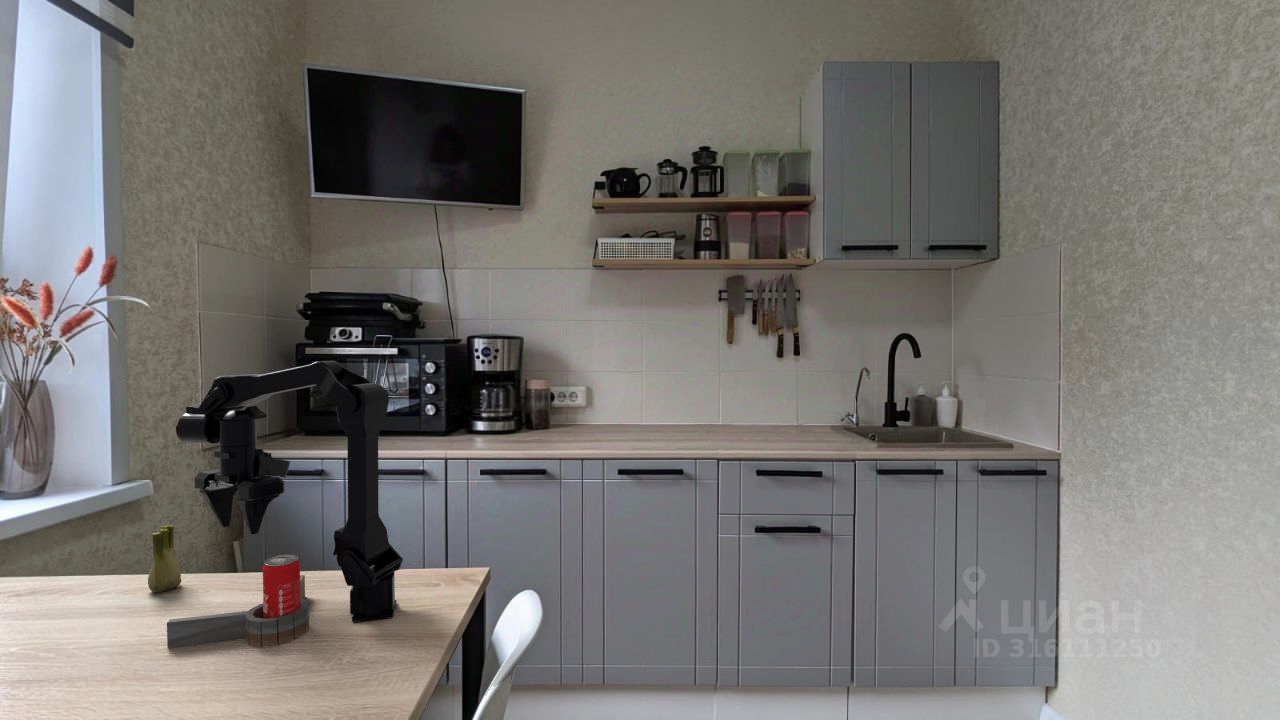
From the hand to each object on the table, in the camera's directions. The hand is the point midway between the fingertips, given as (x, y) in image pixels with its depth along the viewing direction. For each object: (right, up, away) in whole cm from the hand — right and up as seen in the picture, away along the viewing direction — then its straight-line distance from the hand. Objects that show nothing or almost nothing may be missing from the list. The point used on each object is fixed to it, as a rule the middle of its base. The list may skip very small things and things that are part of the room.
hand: (240, 530), depth 112 cm
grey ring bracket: (+7, -13, -9) cm, 17 cm away
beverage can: (+15, -14, -12) cm, 23 cm away
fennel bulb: (-18, -13, +6) cm, 23 cm away
